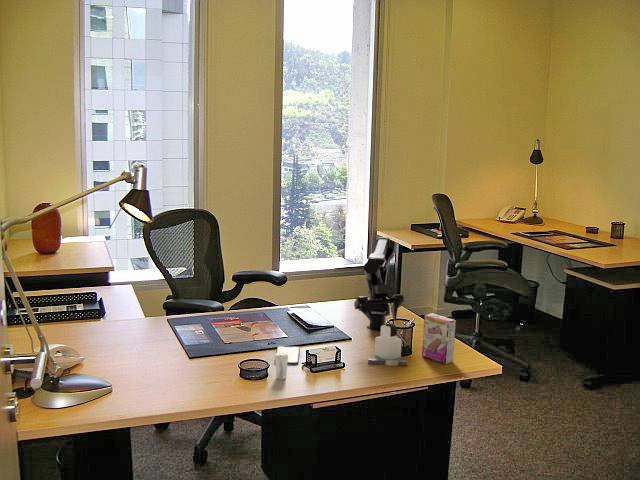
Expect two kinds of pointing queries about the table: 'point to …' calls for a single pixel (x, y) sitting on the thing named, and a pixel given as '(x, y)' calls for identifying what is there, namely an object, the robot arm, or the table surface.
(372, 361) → the marker pen
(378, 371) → the table surface
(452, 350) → the candy bar box
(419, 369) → the table surface
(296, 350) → the phone case
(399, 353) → the medicine bottle
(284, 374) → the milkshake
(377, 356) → the slate mat
